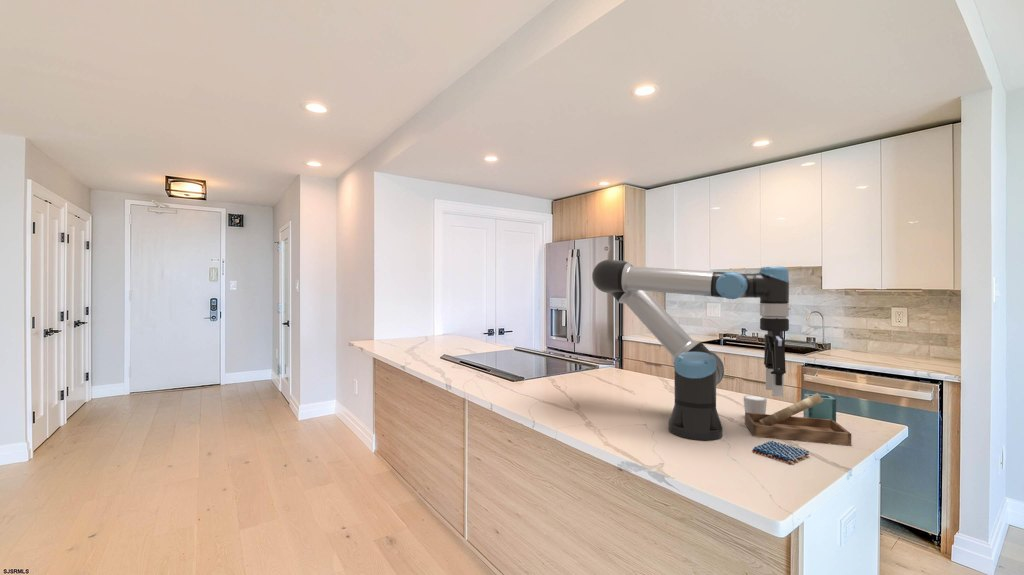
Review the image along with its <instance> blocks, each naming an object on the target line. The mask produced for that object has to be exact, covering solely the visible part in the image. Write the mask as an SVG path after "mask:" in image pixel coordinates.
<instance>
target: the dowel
mask: <svg viewBox="0 0 1024 575" xmlns="http://www.w3.org/2000/svg"><path fill="white" fill-rule="evenodd" d="M814 394H815V395H812V396H810V397H808V398H806V399H804V398H803V399H802V400H799V401H798V402H796V403H793V404H791V405H789V406H787V407H785V408H783V409H781V410H779V411H776V412H774V413H771V414H768V415H769V416H767V417H765V418H763V419H761V420H759V421H760V422H761V424H762V425H766V426H771V425H773V424H775V423H777V422H779V421H782V420H784V419H786V418H788V417H790V416H793V417H794V415H797V414H799V413H801V412H804V410H806V409H808V408H810V407H812V406H814V405H817V404H819V403H821V402H823V399H822V397H821V396H820V395H821V394H819V393H818V392H816V393H814Z"/></svg>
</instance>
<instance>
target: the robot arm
mask: <svg viewBox="0 0 1024 575" xmlns="http://www.w3.org/2000/svg"><path fill="white" fill-rule="evenodd" d="M789 274H790V273H789V269H788V268H787V267H786V266H779V265H778V266H775V265H774V266H762V267H760V268H759V271H758V273H739V272H735V271H727V272H726V271H711V270H698V269H697V270H695V269H679V268H661V267H649V266H648V267H647V266H645V267H644V266H634V265H633V264H631V263H630V262H627V261H625V260H616V259H605V260H602V261H600V262H598V263H597V264H596V266H594V268H593V271H592V274H591V275H592V276H591V278H592V282H593V284H594V286H595V288H596V289H597V290H599V291H600V292H602V293H606V294H611V295H612V296H613V298H614V299H615V300H616V301H617V302H618V303H619V304H625V305H626V306H627V307H628V309H630V310H631V311H632V313H634V315H635V316H636V317H637V318H638V319H639V320H640V321H641V323H642V324H643V325H644V326H645V327H646V328H647V330H648V331H649V332H650V333H651V334H652V335H653V336H654V337H655V338H656V339H657V341H659V343H660V344H661V345H662V346H663V347H664V348H665V350H666V351H667V352H668V353H669V354H670V355H671V356H672V364H673V369H674V372H673V373H674V404H673V408H672V411H671V414H670V416H669V419H668V431H669V432H670V433H671V434H673V435H675V436H679V437H681V438H685V439H691V440H696V441H697V440H698V441H711V440H713V441H714V440H718V439H720V438H722V437H723V435H724V433H723V432H724V431H723V430H724V429H723V428H724V427H723V424H722V421H721V418H720V416H719V413H718V410H717V385H718V384H720V383H721V382H722V380H723V378H724V374H725V367H724V363H723V360H722V359H721V357H719V355H717V354H716V353H715V352H713V351H711V350H709V348H707V346H706V345H704V343H703V342H702V341H700V340H694V339H692V338H691V336H690V335H689V334H688V333H687V332H686V331H685V330H684V329H683V327H681V326H680V325H679V323H678V322H677V321H676V320H675V319H674V318H673V316H671V315H670V314H669V313H668V312H667V310H665V308H664V307H663V306H662V305H661V304H660V303H659V301H657V300H656V299H655V298H654V297H653V295H651V293H650V292H654V293H655V292H657V293H668V294H669V293H670V294H679V295H691V296H703V297H714V298H722V299H723V298H725V299H728V300H736V299H739V298H747V299H748V298H754V299H755V298H756V299H757V298H759V316H760V318H759V329H760V330H762V331H765V332H766V331H767V334H765V333H764V352H763V353H764V356H763V359H764V360H763V364H764V367H765V390H767V391H772V392H771V393H772V395H771V396H772V397H784V374H786V373H787V370H786V352H785V350H786V348H785V346H786V340H785V338H784V337H782V332H788V331H790V327H789V326H790V320H789V318H788V317H789V316H790V315H789V310H792V309H791V306H790V304H789V303H790V301H789V300H790V279H789V278H790V276H789Z"/></svg>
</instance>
